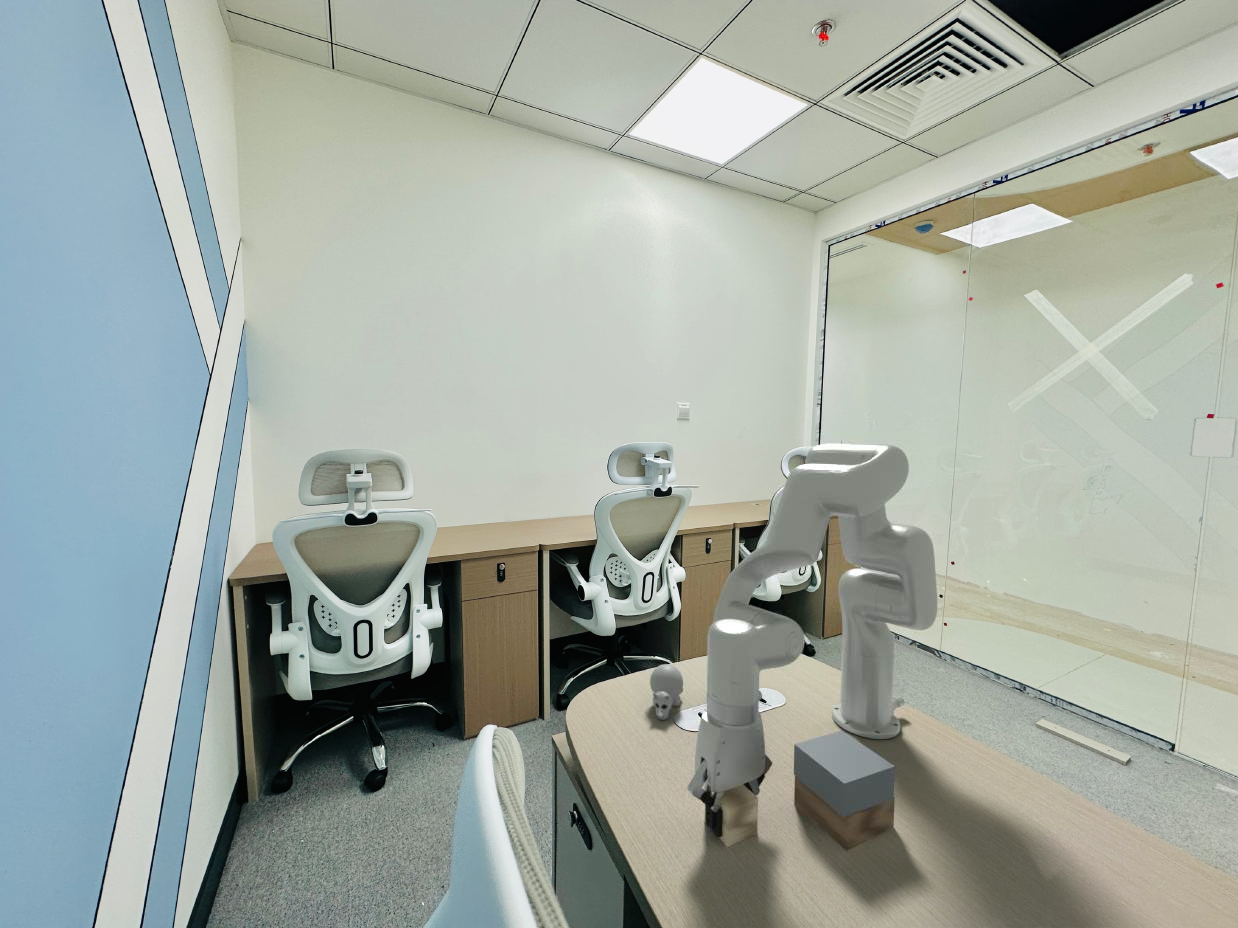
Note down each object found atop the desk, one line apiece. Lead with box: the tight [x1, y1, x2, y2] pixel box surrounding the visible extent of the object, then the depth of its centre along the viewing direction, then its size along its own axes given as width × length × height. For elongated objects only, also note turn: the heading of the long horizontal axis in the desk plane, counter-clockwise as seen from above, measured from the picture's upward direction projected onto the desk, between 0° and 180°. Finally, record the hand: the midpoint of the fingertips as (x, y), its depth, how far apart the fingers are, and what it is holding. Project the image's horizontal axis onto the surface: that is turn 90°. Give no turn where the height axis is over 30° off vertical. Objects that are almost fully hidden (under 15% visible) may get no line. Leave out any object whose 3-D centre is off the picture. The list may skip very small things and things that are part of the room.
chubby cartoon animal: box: [649, 663, 684, 721], centre depth 109 cm, size 7×12×8 cm, turn 162°
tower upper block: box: [793, 730, 896, 818], centre depth 79 cm, size 10×10×5 cm
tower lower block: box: [793, 775, 895, 851], centre depth 79 cm, size 10×10×5 cm
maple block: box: [711, 784, 759, 848], centre depth 76 cm, size 6×6×6 cm
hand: (730, 821), depth 76 cm, fingers closed on maple block, 5 cm apart
